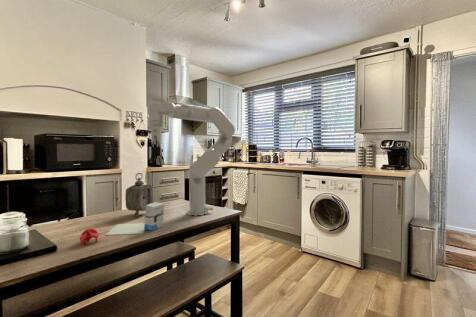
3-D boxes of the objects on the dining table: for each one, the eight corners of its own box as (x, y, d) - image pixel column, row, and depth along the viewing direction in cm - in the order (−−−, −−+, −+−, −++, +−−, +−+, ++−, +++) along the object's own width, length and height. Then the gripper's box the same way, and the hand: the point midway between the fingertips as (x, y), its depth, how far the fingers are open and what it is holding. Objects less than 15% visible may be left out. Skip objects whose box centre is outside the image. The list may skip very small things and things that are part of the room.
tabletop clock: (139, 218, 143) (138, 174, 142) (124, 218, 144) (123, 174, 143) (152, 212, 157) (151, 171, 156) (138, 211, 159) (138, 171, 158)
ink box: (152, 231, 121) (153, 206, 120) (143, 229, 123) (145, 205, 122) (163, 226, 129) (164, 203, 128) (154, 224, 131) (156, 201, 130)
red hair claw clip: (102, 235, 106) (100, 224, 110) (87, 234, 102) (85, 223, 106) (93, 249, 108) (91, 238, 112) (77, 248, 103) (76, 237, 107)
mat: (149, 223, 133) (149, 223, 133) (142, 233, 117) (142, 233, 117) (117, 225, 131) (117, 224, 131) (105, 235, 115) (105, 234, 115)
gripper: (161, 123, 140) (161, 154, 141) (163, 126, 157) (164, 153, 157) (147, 122, 138) (147, 154, 139) (150, 125, 155) (151, 153, 156)
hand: (156, 154), depth 148 cm, fingers open, 9 cm apart
